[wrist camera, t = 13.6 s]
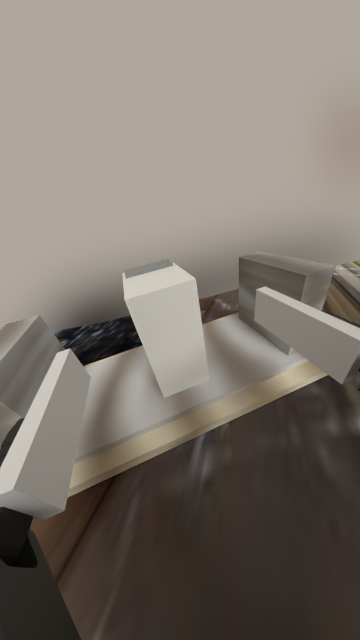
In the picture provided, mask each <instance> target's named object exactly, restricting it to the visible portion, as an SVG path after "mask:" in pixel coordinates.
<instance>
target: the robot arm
mask: <svg viewBox="0 0 360 640" xmlns="http://www.w3.org/2000/svg"><path fill="white" fill-rule="evenodd" d="M254 321H256V322H257V323H259V324H260V325H261V326H263V327H264V328H265V329H267V330H268V331H269V332H271V333H272V334H274V335H275V336H276V337H278V338H279V339H280V340H282V341H283V342H284V343H286V344H287V345H289V346H290V347H291V348H293V349H294V350H295V351H297V352H298V353H299V354H301V355H302V356H304V357H305V358H306V359H308V360H309V361H310V362H312V363H313V364H314V365H316V366H317V367H319V368H320V369H321V370H323V371H324V372H325V373H327V374H328V375H329V376H331V377H332V378H334V379H335V380H336V381H338V382H339V383H340V384H344V383H346V382H348V381H351V380H353V379H354V378H355V376H356V375H357V373H358V371H360V325H358V324H356V323H353V322H349V320H346V319H344V318H341V317H339V316H337V315H335V314H333V313H330V312H326V311H322V310H317V309H315V308H313V307H311V306H308V305H306V304H304V303H302V302H299V301H297V300H295V299H293V298H290V297H288V296H286V295H283V294H281V293H279V292H277V291H274V290H272V289H270V288H268V287H262V288H259V289H256V301H255V317H254ZM90 379H91V377H90V375H89V374H88V373H87V371H86V370H85V368H84V367H83V366H82V364H81V363H80V361H79V360H78V359H77V357H76V356H75V354H74V353H73V352H72V350H71V349H67V350H64V351H61V352H58V353H57V354H56V356H55V358H54V360H53V362H52V364H51V366H50V368H49V370H48V372H47V374H46V376H45V378H44V380H43V382H42V384H41V386H40V388H39V390H38V392H37V394H36V396H35V398H34V400H33V403H32V405H31V407H30V409H29V411H28V413H27V415H26V417H24V418H21V419H19V420H18V421H17V422H16V424H15V425H14V426H13V427H12V428H11V430H10V431H9V432H8V433H7V435H6V437H5V439H4V441H3V443H2V445H1V446H0V447H1V449H0V640H81V639H80V636H79V634H78V632H77V630H76V627H75V625H74V623H73V620H72V618H71V616H70V614H69V611H68V609H67V607H66V604H65V602H64V600H63V598H62V595H61V593H60V591H59V588H58V586H57V584H56V581H55V579H54V577H53V575H52V572H51V570H50V568H49V565H48V563H47V561H46V559H45V556H44V554H43V552H42V549H41V547H40V545H39V543H38V540H37V538H36V536H35V533H34V532H33V531H32V530H31V529H30V526H31V522H32V519H33V517H34V518H37V519H40V520H45V519H47V518H50V517H52V516H54V515H56V514H58V513H61V512H63V511H65V507H66V502H67V497H68V492H69V487H70V481H71V476H72V471H73V466H74V461H75V456H76V451H77V446H78V441H79V436H80V430H81V425H82V420H83V415H84V410H85V405H86V400H87V395H88V390H89V385H90ZM357 389H358V390H359V391H360V383H359V384H358V386H357Z"/></svg>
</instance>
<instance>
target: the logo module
mask: <svg viewBox="0 0 360 640" xmlns="http://www.w3.org/2000/svg"><path fill="white" fill-rule="evenodd" d="M123 286H124V300H125V302H126V305H127V307H128V310H129V312H130V315H131V317H132V320H133V322H134V325H135V327H136V330H137V332H138V335H139V337H140V340H141V342H142V345H143V347H144V350H145V352H146V355H147V357H148V360H149V362H150V365H151V367H152V370H153V372H154V375H155V377H156V380H157V382H158V385H159V387H160V390H161V392H162V395H163V397H164V398H166V397H168V396H171V395H173V394H175V393H178V392H180V391H183V390H185V389H188V388H190V387H193V386H195V385H198V384H200V383H203V382H205V381H208V380H210V379H209V371H208V364H207V357H206V350H205V342H204V335H203V328H202V321H201V313H200V306H199V299H198V292H197V284H196V279H195V278H194V277H192V276H191V275H190V274H188V273H187V272H185V271H184V270H183V269H181V268H180V267H178V266H177V265H176V264H174V263H173V262H171V261H170V260H168V259H166V260H162V261H159V262H155V263H151V264H147V265H144V266H140V267H136V268H132V269H129V270H125V273H123Z"/></svg>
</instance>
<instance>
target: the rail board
mask: <svg viewBox="0 0 360 640" xmlns="http://www.w3.org/2000/svg"><path fill="white" fill-rule="evenodd" d="M334 269H335V265H329V264H324V263H319V262H314V261H309V260H303V259H298V258H293V257H287V256H282V255H277V254H272V253H266V252H261V251H259V252H255V253H252V254H248V255H245V256H242V257H239V312H237V313H234V314H231V315H228V316H225V317H222V318H219V319H217V320H214V321H211V322H208V323H205V324H202V328H203V335H204V342H205V350H206V357H207V364H208V371H209V379H210V380H208V381H205V382H203V383H200V384H198V385H195V386H193V387H190V388H188V389H185V390H183V391H180V392H178V393H175V394H173V395H171V396H168V397H166V398H164V397H163V395H162V392H161V390H160V387H159V385H158V382H157V380H156V377H155V375H154V372H153V370H152V367H151V365H150V362H149V360H148V357H147V355H146V352H145V350H144V347H143V346H140V347H137V348H134V349H131V350H128V351H125V352H123V353H120V354H117V355H114V356H111V357H108V358H106V359H103V360H100V361H97V362H94V363H91V364H88V365H86V366H83V367H84V368H85V370H86V371H87V373H88V374H89V375H90V377H91V379H90V385H89V390H88V395H87V400H86V405H85V410H84V415H83V420H82V425H81V430H80V436H79V441H78V446H77V451H76V456H75V461H74V466H73V471H72V476H71V481H70V487H69V492H68V497H70V496H72V495H74V494H76V493H79V492H81V491H83V490H85V489H87V488H89V487H91V486H93V485H96V484H98V483H100V482H102V481H104V480H106V479H108V478H110V477H112V476H115V475H117V474H119V473H121V472H123V471H125V470H127V469H129V468H132V467H134V466H136V465H138V464H140V463H142V462H144V461H146V460H149V459H151V458H153V457H155V456H157V455H159V454H161V453H163V452H165V451H168V450H170V449H172V448H174V447H176V446H178V445H180V444H182V443H185V442H187V441H189V440H191V439H193V438H195V437H197V436H199V435H202V434H204V433H206V432H208V431H210V430H212V429H214V428H216V427H219V426H221V425H223V424H225V423H227V422H229V421H231V420H233V419H235V418H238V417H240V416H242V415H244V414H246V413H248V412H250V411H252V410H255V409H257V408H259V407H261V406H263V405H265V404H267V403H269V402H272V401H274V400H276V399H278V398H280V397H282V396H284V395H286V394H288V393H291V392H293V391H295V390H297V389H299V388H301V387H303V386H305V385H308V384H310V383H312V382H314V381H316V380H318V379H320V378H322V377H325V376H327V375H328V374H327V373H325V372H324V371H323V370H321V369H320V368H319V367H317V366H316V365H314V364H313V363H312V362H310V361H309V360H308V359H306V358H305V357H304V356H302V355H301V354H299V353H298V352H297V351H295V350H294V349H293V348H291V347H290V346H289V345H287V344H286V343H284V342H283V341H282V340H280V339H279V338H278V337H276V336H275V335H274V334H272V333H271V332H269V331H268V330H267V329H265V328H264V327H263V326H261V325H260V324H259V323H257V322H256V321H254V317H255V301H256V289H259V288H262V287H268V288H270V289H272V290H274V291H277V292H279V293H281V294H283V295H286V296H288V297H290V298H293V299H295V300H297V301H299V302H302V303H304V304H306V305H308V306H311V307H313V308H315V309H317V310H322V308H323V305H324V302H325V298H326V295H327V292H328V289H329V285H330V282H331V279H332V276H333V273H334ZM64 350H65V349H64V347H63V346H62V345H61V343H60V342H59V341H58V339H57V338H56V337H55V335H54V334H53V332H52V331H51V330H50V328H49V327H48V326H47V324H46V323H45V322H44V320H43V319H42V318H41V316H40V315H37V316H34V317H30V318H27V319H24V320H20V321H16V322H13V323H9V324H7V325H5V326H4V327H3V328H2V329H1V330H0V446H1V445H2V443H3V441H4V439H5V437H6V435H7V433H8V432H9V431H10V430H11V428H12V427H13V426H14V425H15V424H16V422H17V421H18V420H19V419H21V418H24V417H26V415H27V413H28V411H29V409H30V407H31V405H32V403H33V400H34V398H35V396H36V394H37V392H38V390H39V388H40V386H41V384H42V382H43V380H44V378H45V376H46V374H47V372H48V370H49V368H50V366H51V364H52V362H53V360H54V358H55V356H56V354H57V353H58V352H61V351H64ZM0 449H1V447H0ZM68 497H67V498H68Z"/></svg>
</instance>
